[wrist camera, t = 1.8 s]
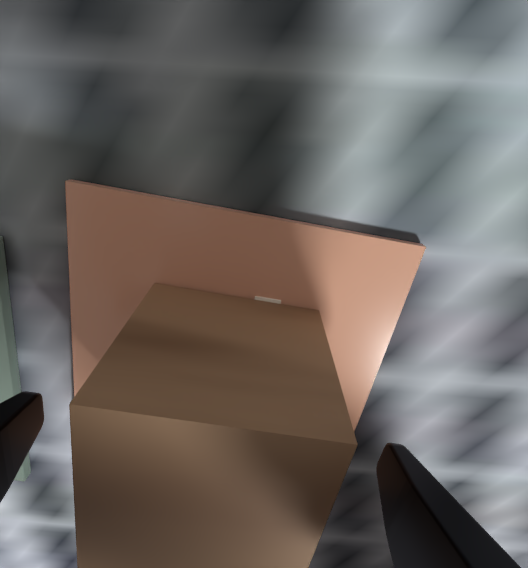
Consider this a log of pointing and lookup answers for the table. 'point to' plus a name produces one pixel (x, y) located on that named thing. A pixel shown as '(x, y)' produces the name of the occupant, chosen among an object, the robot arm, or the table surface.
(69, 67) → the table surface
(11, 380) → the green mat
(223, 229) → the tile
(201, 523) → the walnut block
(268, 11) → the table surface
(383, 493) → the robot arm
